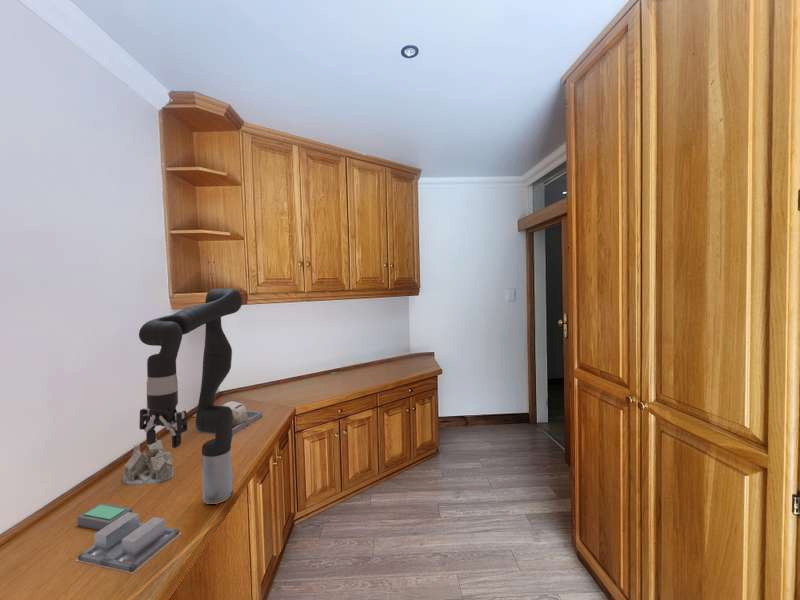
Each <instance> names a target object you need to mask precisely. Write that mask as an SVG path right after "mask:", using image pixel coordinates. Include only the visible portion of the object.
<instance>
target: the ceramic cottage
mask: <svg viewBox="0 0 800 600" xmlns="http://www.w3.org/2000/svg"><path fill="white" fill-rule="evenodd" d="M145 448H146V449H145V451H146V452H143V453H142V452H141V447H140V444H138V443H137V444H134V446H133V451H132V455H131V457H130V458H129V459H128V461H127V462H126V463H125V464H124V467H125V469H124V474H123V477H122V480H121V481H122V482H123V483H124V484H126V485H128V486H130V485H132V486H133V485H134V486H135V485H155V484H156V485H157V484H160V483H162V482H165V481H167V480H170V479H172V478H173V477H174V475H175V474H174V465H173V464H174V460H173V458H172V455H171V451H168V452H167V451H165V452H164V451H163V449H164V448H163V443H162V439H159V440H158V439H157V437H156V442H155V443H153V444H151V445H148V444H147V443H146V447H145Z"/></svg>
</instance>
